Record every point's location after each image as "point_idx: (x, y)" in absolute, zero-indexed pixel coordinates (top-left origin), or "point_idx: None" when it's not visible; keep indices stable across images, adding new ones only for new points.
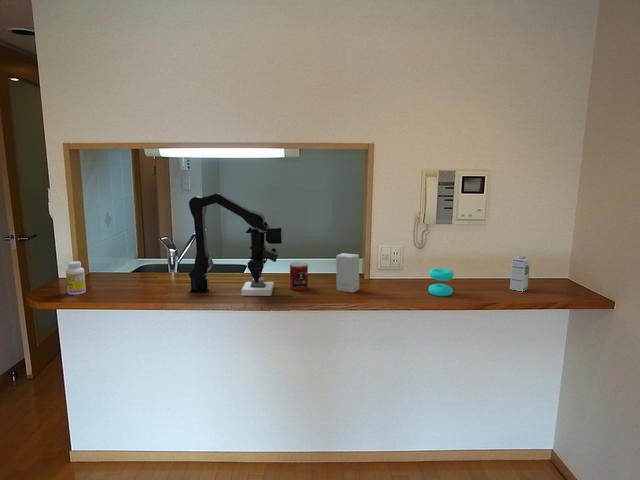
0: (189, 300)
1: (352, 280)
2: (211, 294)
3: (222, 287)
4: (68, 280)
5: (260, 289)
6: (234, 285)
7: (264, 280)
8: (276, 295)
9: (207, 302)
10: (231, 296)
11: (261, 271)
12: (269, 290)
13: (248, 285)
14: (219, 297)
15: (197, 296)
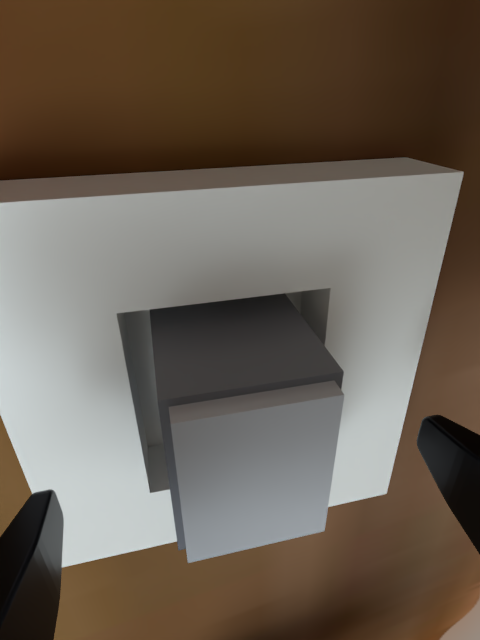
0: (412, 624)
1: None
2: (309, 603)
3: (121, 631)
4: None
5: (414, 325)
6: None
7: (173, 376)
8: (401, 71)
9: (468, 553)
10: None
11: (12, 609)
12: (450, 194)
13: None
14: (382, 546)
15: (345, 632)
